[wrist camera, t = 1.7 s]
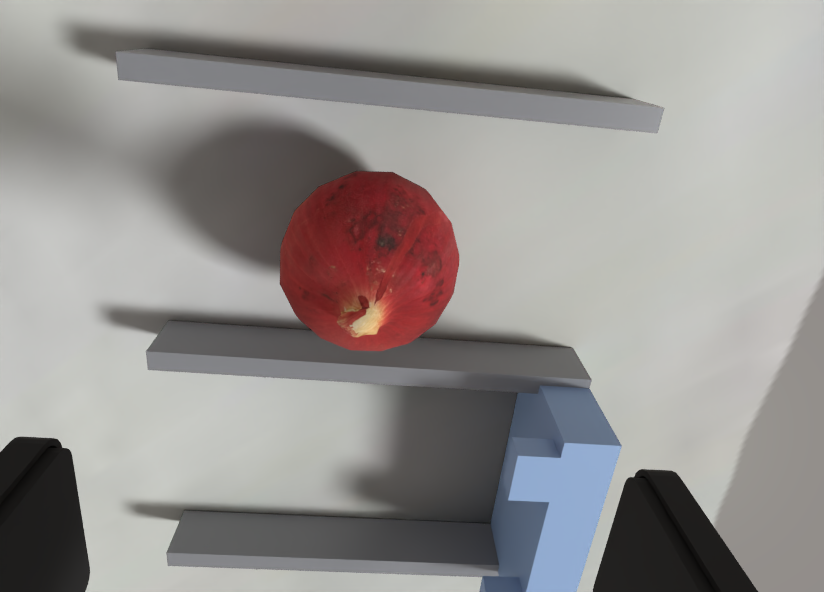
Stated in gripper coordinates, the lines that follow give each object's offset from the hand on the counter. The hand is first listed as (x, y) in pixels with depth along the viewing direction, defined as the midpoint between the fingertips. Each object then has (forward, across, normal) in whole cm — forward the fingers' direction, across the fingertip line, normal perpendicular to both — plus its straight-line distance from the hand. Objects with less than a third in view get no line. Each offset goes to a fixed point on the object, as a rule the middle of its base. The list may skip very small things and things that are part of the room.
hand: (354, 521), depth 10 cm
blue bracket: (+14, -8, +9) cm, 19 cm away
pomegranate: (+14, 0, -1) cm, 14 cm away
